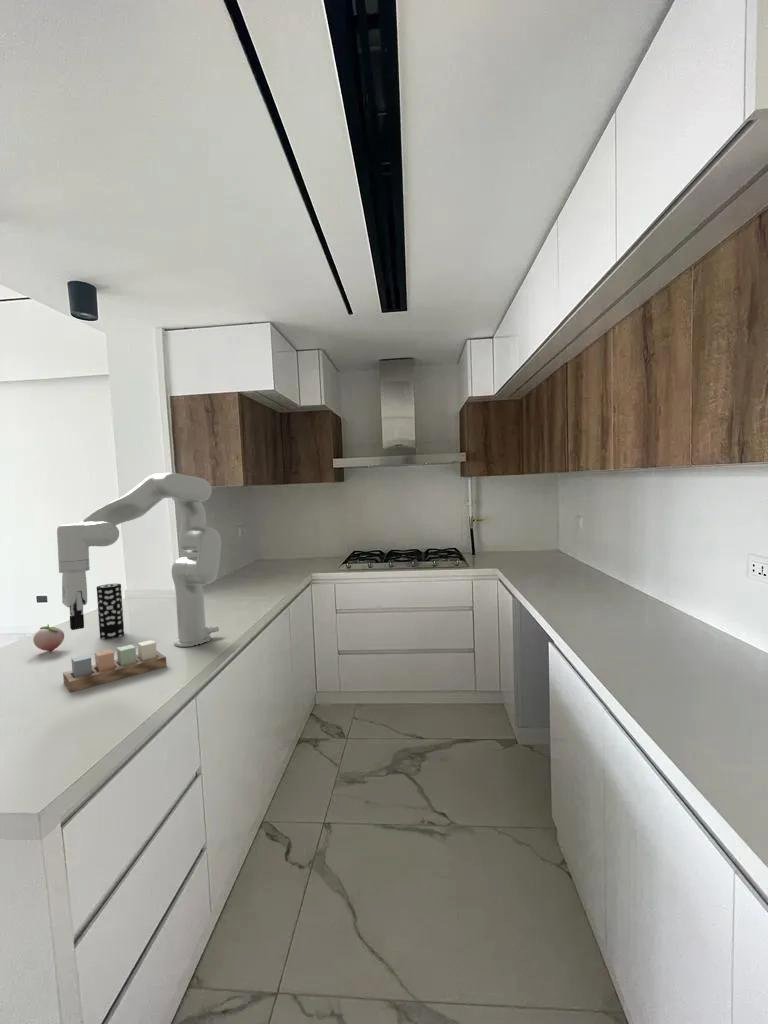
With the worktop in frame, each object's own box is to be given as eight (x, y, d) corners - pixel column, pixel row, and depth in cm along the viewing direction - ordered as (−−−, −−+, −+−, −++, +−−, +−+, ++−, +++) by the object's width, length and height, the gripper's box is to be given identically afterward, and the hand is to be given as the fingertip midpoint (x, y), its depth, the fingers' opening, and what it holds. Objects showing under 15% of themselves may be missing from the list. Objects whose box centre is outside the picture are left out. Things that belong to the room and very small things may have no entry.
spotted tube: (94, 638, 184) (91, 587, 183) (112, 632, 192) (109, 583, 191) (111, 639, 182) (108, 588, 181) (129, 633, 190) (125, 583, 189)
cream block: (152, 655, 155) (151, 639, 155) (156, 658, 152) (155, 642, 152) (138, 658, 152) (137, 643, 152) (142, 661, 149) (141, 645, 149)
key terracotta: (111, 665, 147) (110, 649, 146) (114, 668, 144) (113, 652, 143) (95, 669, 144) (94, 652, 144) (99, 672, 141) (98, 656, 141)
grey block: (89, 670, 143) (87, 654, 142) (92, 674, 140) (91, 657, 139) (72, 674, 140) (71, 658, 140) (75, 678, 137) (74, 661, 136)
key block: (156, 658, 158) (155, 649, 158) (166, 666, 151) (166, 657, 151) (63, 682, 141) (63, 672, 141) (70, 692, 133) (69, 681, 133)
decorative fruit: (27, 655, 167) (25, 627, 166) (49, 647, 175) (47, 621, 174) (49, 656, 165) (47, 628, 164) (70, 648, 173) (68, 621, 172)
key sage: (132, 659, 151) (131, 644, 151) (136, 663, 148) (135, 647, 147) (117, 663, 148) (116, 647, 148) (121, 667, 145) (120, 650, 145)
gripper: (54, 565, 141) (57, 626, 141) (63, 570, 130) (66, 636, 131) (83, 562, 146) (86, 621, 147) (95, 566, 135) (97, 630, 136)
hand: (77, 628), depth 139 cm, fingers closed
